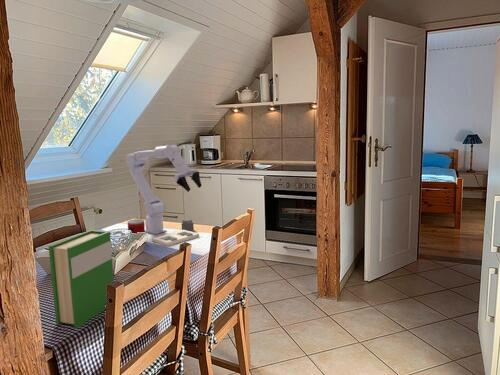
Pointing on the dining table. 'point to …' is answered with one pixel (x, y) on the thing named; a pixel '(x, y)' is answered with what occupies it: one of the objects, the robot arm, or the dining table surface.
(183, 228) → the plug
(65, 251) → the hardback book
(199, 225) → the dining table surface
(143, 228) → the canned food
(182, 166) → the robot arm
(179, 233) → the socket plate
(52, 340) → the dining table surface
